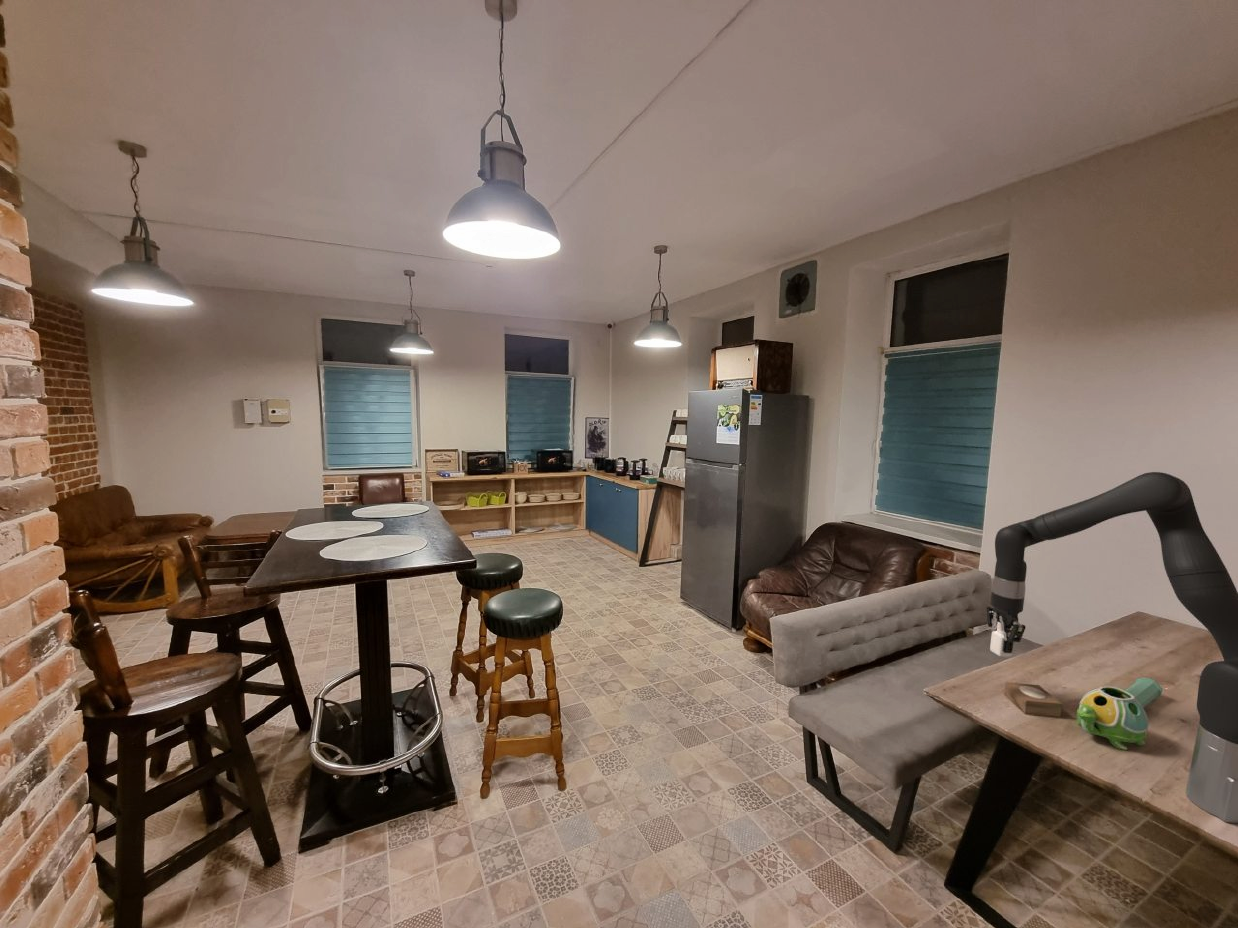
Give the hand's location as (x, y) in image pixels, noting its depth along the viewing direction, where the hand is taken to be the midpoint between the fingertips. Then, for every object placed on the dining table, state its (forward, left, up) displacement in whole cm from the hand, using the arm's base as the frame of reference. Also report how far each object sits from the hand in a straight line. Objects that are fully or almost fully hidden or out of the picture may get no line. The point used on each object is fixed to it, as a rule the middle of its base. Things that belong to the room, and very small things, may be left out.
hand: (1001, 647), depth 144 cm
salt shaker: (0, 0, -2) cm, 2 cm away
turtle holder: (-15, -18, -15) cm, 28 cm away
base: (-4, -7, -15) cm, 17 cm away
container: (-1, -36, -15) cm, 39 cm away
